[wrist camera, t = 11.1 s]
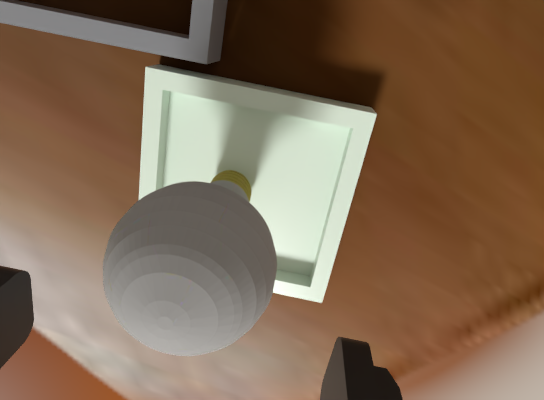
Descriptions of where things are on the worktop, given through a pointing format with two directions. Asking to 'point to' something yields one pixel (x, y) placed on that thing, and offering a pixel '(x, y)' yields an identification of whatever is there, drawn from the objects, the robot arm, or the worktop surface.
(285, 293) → the tray
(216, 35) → the case
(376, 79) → the worktop surface
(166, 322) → the light bulb
